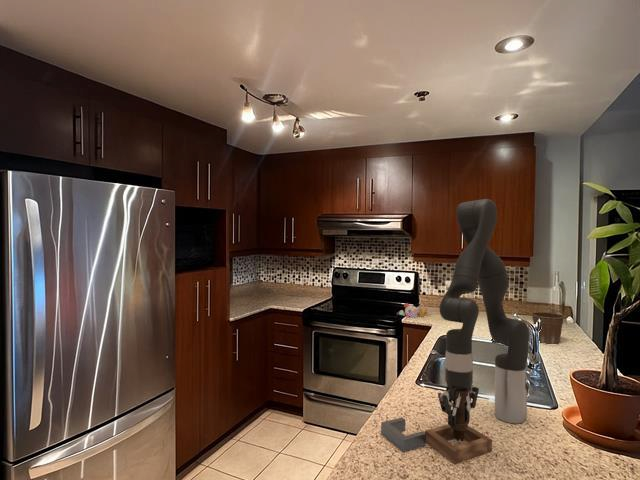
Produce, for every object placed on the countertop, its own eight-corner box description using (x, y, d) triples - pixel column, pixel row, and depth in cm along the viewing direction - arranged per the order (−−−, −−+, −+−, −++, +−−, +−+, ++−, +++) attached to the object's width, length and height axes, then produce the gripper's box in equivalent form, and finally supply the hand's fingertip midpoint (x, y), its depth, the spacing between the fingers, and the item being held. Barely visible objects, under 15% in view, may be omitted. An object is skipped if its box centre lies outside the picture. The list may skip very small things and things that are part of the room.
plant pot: (550, 338, 229) (550, 311, 229) (571, 346, 213) (572, 317, 213) (524, 339, 227) (525, 312, 226) (544, 347, 211) (544, 318, 210)
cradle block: (402, 428, 124) (402, 417, 124) (425, 445, 114) (425, 433, 114) (381, 433, 121) (381, 422, 121) (403, 452, 111) (403, 439, 111)
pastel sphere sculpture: (434, 316, 291) (434, 304, 291) (424, 322, 272) (424, 309, 272) (402, 312, 305) (402, 300, 305) (390, 318, 285) (390, 305, 285)
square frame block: (460, 432, 122) (460, 420, 122) (491, 451, 111) (491, 439, 111) (424, 442, 116) (424, 430, 116) (454, 464, 105) (454, 451, 105)
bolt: (466, 435, 116) (466, 385, 115) (471, 444, 111) (471, 392, 110) (446, 434, 116) (446, 384, 116) (450, 443, 111) (450, 391, 111)
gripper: (467, 359, 119) (467, 414, 120) (430, 366, 113) (430, 424, 114) (487, 366, 113) (486, 425, 113) (449, 374, 106) (449, 436, 107)
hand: (458, 424), depth 113 cm, fingers closed on bolt, 4 cm apart
